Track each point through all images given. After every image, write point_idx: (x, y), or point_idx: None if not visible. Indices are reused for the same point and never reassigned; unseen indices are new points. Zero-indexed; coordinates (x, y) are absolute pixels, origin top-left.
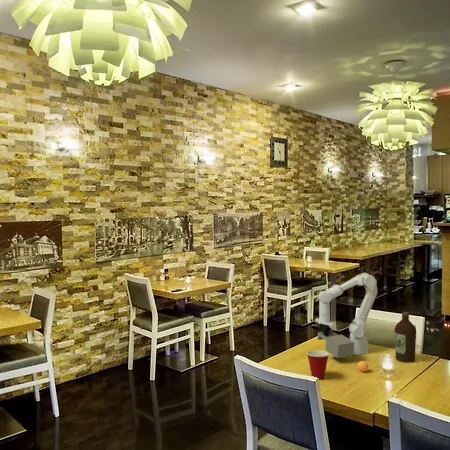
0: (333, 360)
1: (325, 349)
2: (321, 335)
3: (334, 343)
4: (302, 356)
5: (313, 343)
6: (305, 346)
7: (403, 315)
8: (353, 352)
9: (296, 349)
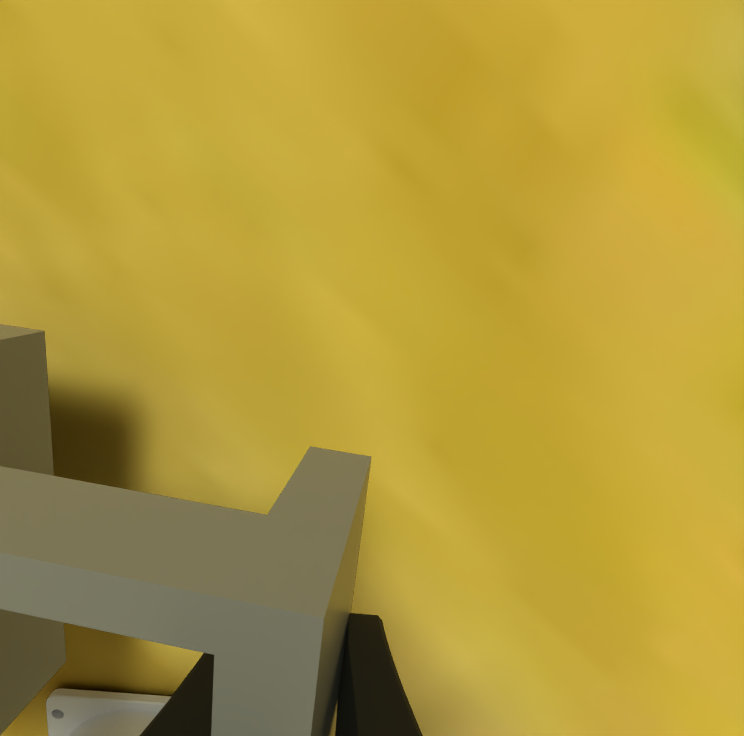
0: None
1: (31, 329)
2: (77, 535)
3: None
4: (398, 41)
5: (714, 593)
6: (709, 426)
7: None
8: (101, 720)
9: (715, 211)
